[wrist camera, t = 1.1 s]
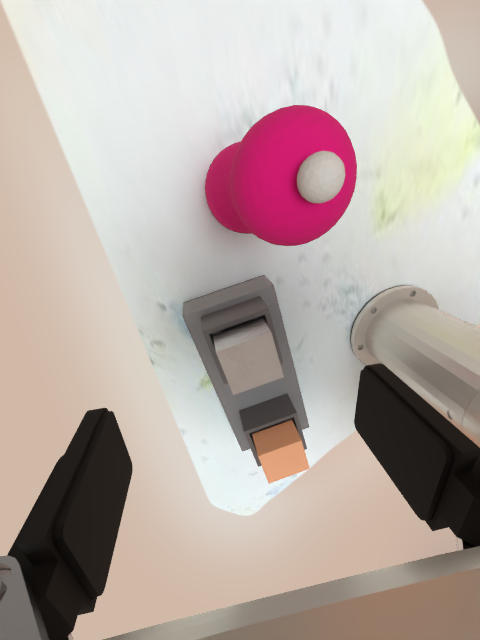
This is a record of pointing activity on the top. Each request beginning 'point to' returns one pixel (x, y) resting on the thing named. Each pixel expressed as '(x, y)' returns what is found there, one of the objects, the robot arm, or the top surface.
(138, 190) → the top surface
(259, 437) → the terracotta button
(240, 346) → the grey button
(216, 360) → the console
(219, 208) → the pepper mill
